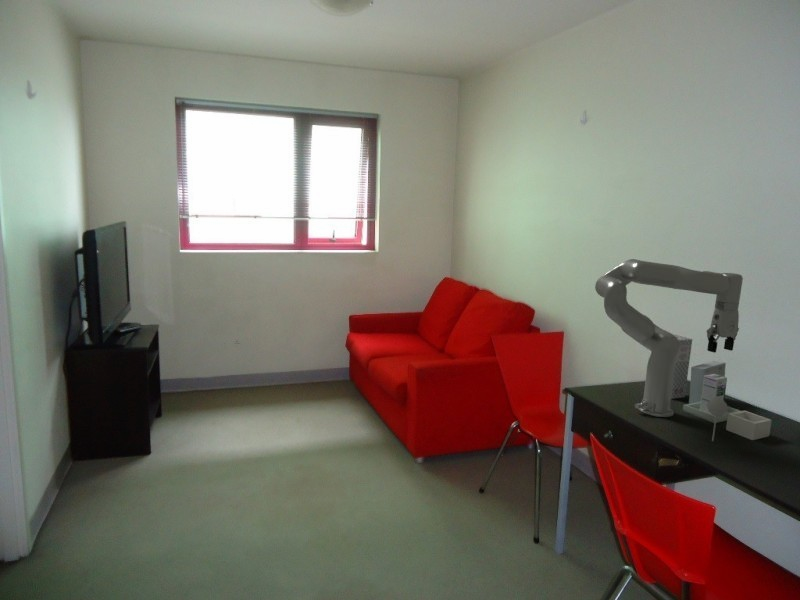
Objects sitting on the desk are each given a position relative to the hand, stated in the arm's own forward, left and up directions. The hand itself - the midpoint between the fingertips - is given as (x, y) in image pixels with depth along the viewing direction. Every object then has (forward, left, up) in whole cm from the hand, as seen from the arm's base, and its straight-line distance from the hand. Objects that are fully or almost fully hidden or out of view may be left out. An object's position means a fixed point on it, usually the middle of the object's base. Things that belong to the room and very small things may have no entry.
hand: (719, 350), depth 208 cm
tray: (0, 0, -25) cm, 25 cm away
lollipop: (-24, -17, -26) cm, 39 cm away
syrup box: (0, 0, -25) cm, 25 cm away
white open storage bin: (-5, -17, -25) cm, 31 cm away
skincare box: (+12, +10, -26) cm, 30 cm away
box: (+4, +22, -26) cm, 34 cm away
